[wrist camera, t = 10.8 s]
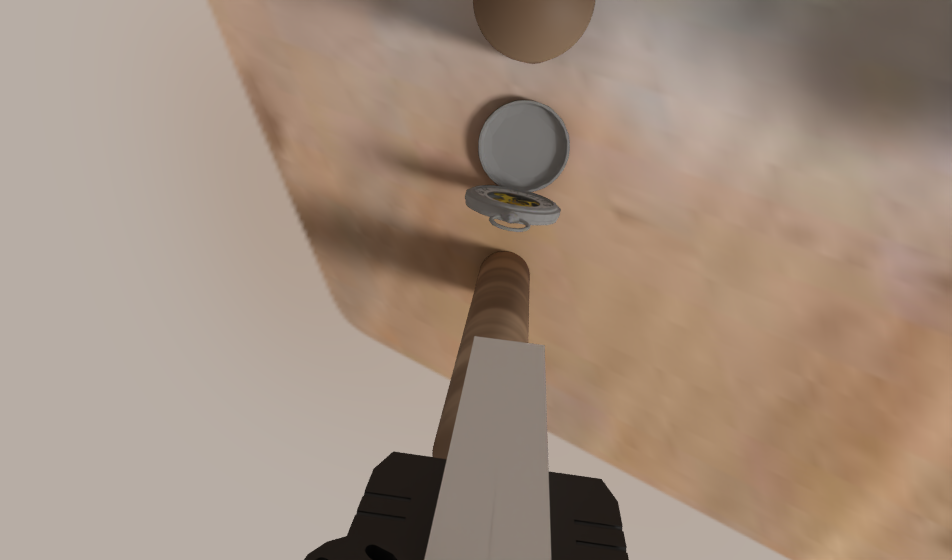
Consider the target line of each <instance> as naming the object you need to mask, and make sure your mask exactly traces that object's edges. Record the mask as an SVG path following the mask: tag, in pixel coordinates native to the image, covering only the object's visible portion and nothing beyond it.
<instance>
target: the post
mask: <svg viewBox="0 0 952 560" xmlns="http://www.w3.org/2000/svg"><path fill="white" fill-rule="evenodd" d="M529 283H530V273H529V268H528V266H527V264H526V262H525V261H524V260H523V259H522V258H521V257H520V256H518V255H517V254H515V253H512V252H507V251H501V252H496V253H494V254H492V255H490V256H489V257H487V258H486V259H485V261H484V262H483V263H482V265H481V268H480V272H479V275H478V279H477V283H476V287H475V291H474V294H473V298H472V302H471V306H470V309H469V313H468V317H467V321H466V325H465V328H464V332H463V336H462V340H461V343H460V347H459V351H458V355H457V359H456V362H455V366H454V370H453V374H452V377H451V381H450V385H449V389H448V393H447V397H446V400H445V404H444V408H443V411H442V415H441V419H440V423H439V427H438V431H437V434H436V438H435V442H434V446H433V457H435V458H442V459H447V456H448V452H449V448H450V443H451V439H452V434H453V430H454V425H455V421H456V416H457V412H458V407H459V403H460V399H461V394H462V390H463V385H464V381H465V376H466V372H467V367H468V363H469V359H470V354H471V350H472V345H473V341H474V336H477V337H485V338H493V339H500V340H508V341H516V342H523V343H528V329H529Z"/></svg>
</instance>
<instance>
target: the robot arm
mask: <svg viewBox="0 0 952 560" xmlns="http://www.w3.org/2000/svg"><path fill="white" fill-rule="evenodd" d="M304 560H629V559H628V554H627V553H626V543H625V537H624V532H623V531H622V522H621V516H620V511H619V506H618V501H617V500H616V499H615V497H614V496H613V494H612V493H611V492H610V490H609V489H608V488H607V486H606V485H605V483H604V482H603V481H602V479H597V478H591V477H584V476H576V475H569V474H562V473H555V472H549V471H548V441H547V408H546V376H545V345H539V344H531V343H523V342H516V341H508V340H500V339H493V338H485V337H477V336H474V341H473V345H472V350H471V354H470V359H469V363H468V367H467V372H466V376H465V381H464V385H463V390H462V394H461V399H460V403H459V407H458V412H457V416H456V421H455V425H454V430H453V434H452V439H451V443H450V448H449V452H448V456H447V459H442V458H435V457H427V456H420V455H413V454H407V453H400V452H393V453H391V454H390V455H389V456H388V457H387V458H386V459H384V460H383V461H382V462H381V463H380V464H379V465H378V466H376V467H375V468H374V469H373V472H372V475H371V477H370V479H369V482H368V484H367V487H366V489H365V493H364V496H363V497H362V500H361V502H360V504H359V507H358V509H357V514H356V515H355V517H354V519H353V522H352V524H351V527H350V529H349V532H348V535H347V536H346V537H342V538H339V539H335V540H332V541H329V542H326V543H324V544H323V545H321V546H320V547H318V548H317V549H315V550H314V551H312V552H311V553H309V554H308V555H307V556H306V558H305V559H304Z"/></svg>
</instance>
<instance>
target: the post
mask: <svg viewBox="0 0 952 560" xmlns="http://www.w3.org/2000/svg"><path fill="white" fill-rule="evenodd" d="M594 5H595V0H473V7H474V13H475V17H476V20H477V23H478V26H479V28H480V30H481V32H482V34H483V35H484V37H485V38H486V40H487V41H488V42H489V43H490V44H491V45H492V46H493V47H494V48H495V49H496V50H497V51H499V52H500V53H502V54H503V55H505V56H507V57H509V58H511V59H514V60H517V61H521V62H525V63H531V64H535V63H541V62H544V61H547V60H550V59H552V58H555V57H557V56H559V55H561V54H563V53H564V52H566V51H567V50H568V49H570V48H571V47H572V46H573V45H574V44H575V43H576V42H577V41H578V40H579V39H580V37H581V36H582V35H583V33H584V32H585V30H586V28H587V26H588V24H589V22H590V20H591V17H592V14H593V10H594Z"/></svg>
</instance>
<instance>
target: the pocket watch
mask: <svg viewBox="0 0 952 560" xmlns="http://www.w3.org/2000/svg"><path fill="white" fill-rule="evenodd" d="M569 150H570V141H569V134H568V132H567V129H566V127H565V124H564V122H563V121H562V119H561V118H560V117H559V116H558V115H557V114H556V113H555V112H554V111H553V110H552V109H551V108H550V107H549V106H546V105H544V104H541V103H538V102H536V101H533V100H516V101H514V102H511V103H508V104H506V105H503V106H501V107H500V108H498V109H497V110H496V111H495V112H493V113H492V114H491V115H490V116H489V118H488V119H487V120H486V122H485V124H484V126H483V128H482V130H481V133H480V136H479V146H478V153H479V158H480V161H481V164H482V166H483V169H484V170H485V172H486V173H487V174H488V176H489V177H490V179H491V180H493V181H494V182H495V183H496V184H497V185H499V186H494V185H482V186H475V187H472V188H470V189H467V191H466V195H465V199H466V205H467V206H468V207H469V208H471V209H472V210H474V211H476V212H478V213H480V214H483V215H486V216H489V217H490V218H489V221H490V222H491V224H492V225H494V226H496V227H498V228H501V229H504V230H508V231H514V232H523V231H527V230H528V229H529V228H530V225H549V224H553V223H555V222H556V221H557V219H558V217H559V215H560V211H561V209H560V208H559V207H558V206H557V205H556V203H554V202H553V201H551V200H550V199H548V198H545V197H543V196H541V195H538V194H535V193H532V192H534V191H537V190H540V189H543V188H545V187H546V186H548V185H549V184H551V183H552V182H553V181H554V180H555V179H557V178H558V176H559V175H560V174H561V172H562V171H563V170H564V168H565V165H566V163H567V160H568V157H569ZM494 219H498V220H502V221H506V222H508V223H519V224H525V225H526V227H524V228H508V227H505V226H502V225H500V224H497V223H496V222H495V221H494Z"/></svg>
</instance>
